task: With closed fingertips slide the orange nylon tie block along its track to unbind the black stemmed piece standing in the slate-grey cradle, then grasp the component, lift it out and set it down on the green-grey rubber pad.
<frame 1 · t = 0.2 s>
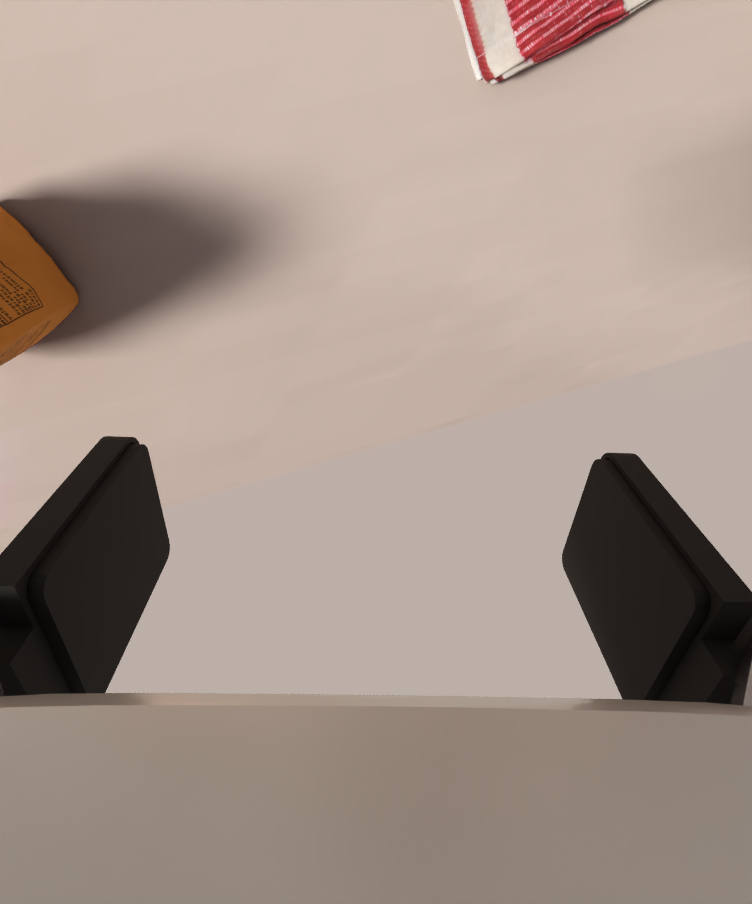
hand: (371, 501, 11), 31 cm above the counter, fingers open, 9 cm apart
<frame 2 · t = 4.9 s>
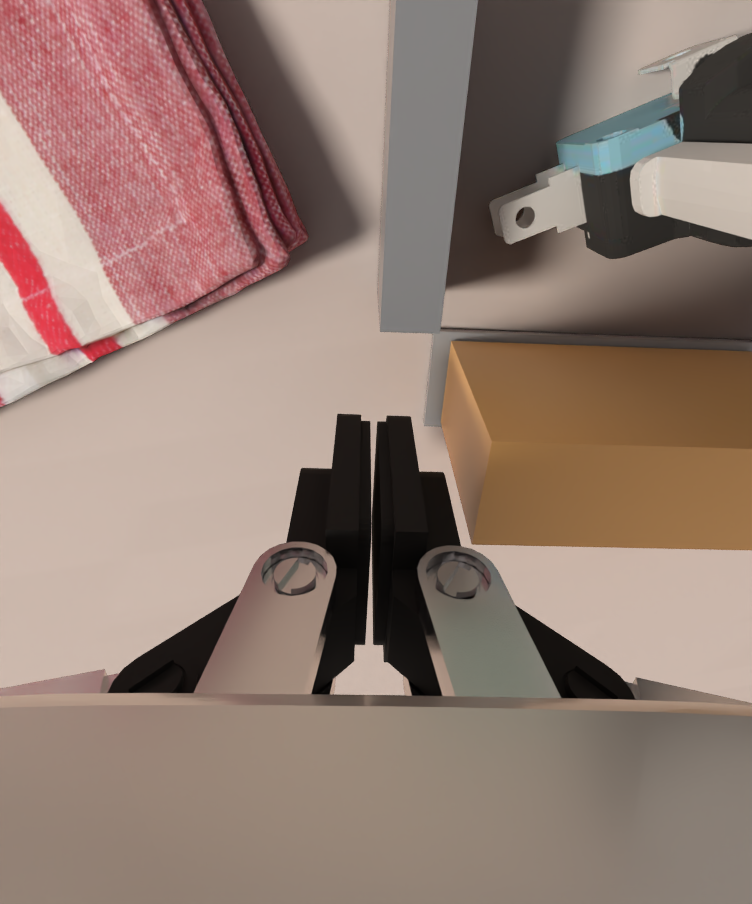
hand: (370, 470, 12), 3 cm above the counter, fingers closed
tie block: (631, 434, 12), point 3 cm above the counter, slide at 0.5 cm, touching gripper
black stemmed piece: (629, 152, 11), on the counter
cradle: (634, 153, 11), on the counter
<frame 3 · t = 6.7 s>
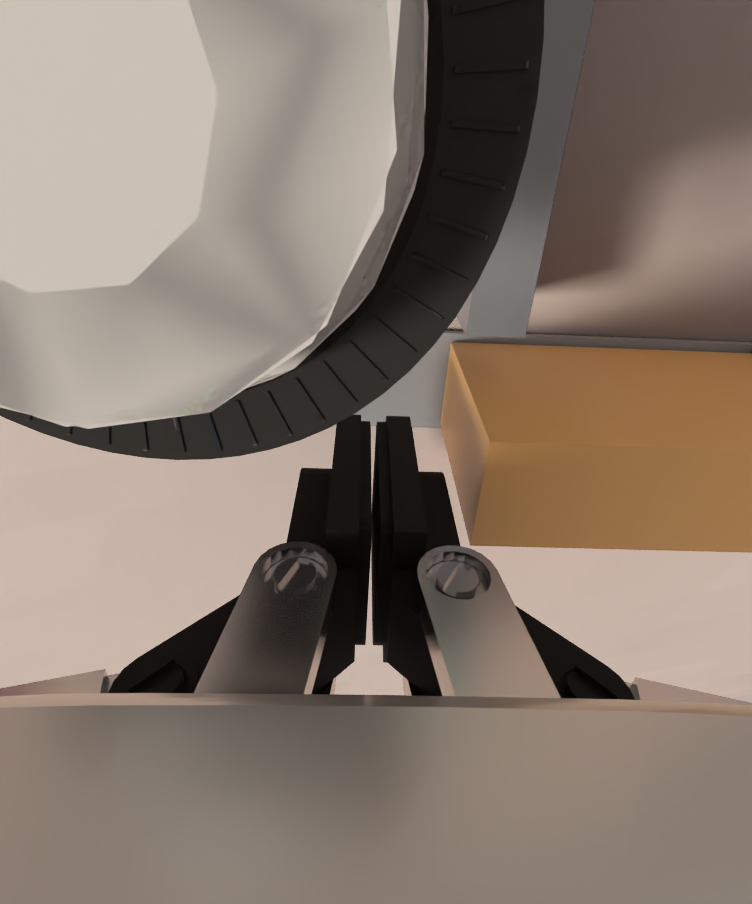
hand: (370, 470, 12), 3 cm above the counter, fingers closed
tie block: (631, 436, 12), point 3 cm above the counter, slide at 8.5 cm, touching cradle, gripper
black stemmed piece: (266, 136, 11), on the counter
cradle: (264, 136, 11), on the counter
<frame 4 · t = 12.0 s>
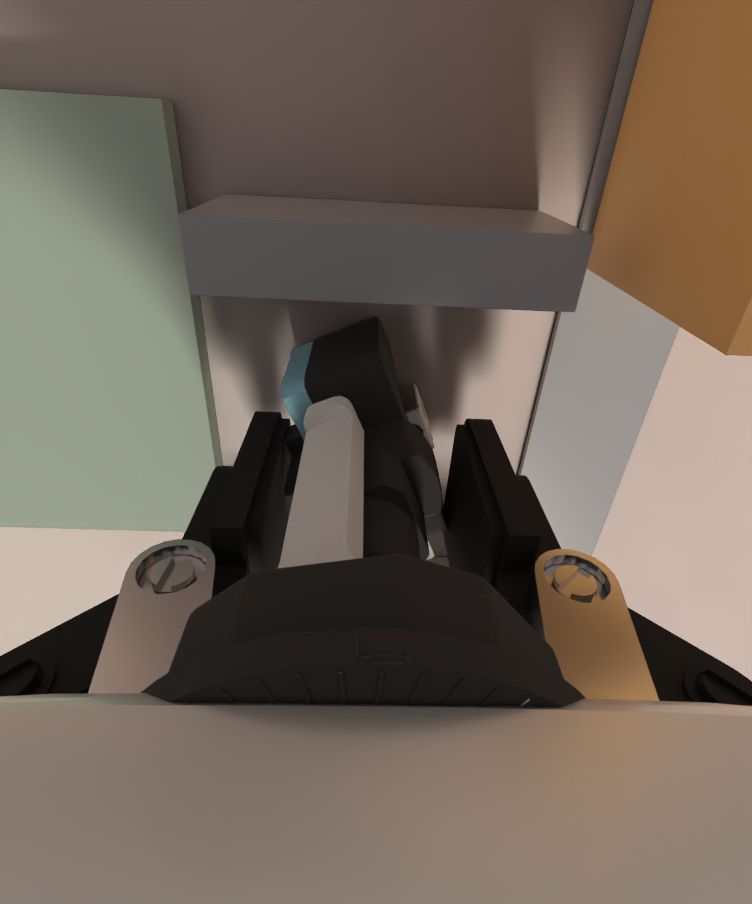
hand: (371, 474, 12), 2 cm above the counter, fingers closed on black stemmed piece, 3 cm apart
black stemmed piece: (373, 431, 13), on the counter, touching gripper
cradle: (372, 435, 13), on the counter
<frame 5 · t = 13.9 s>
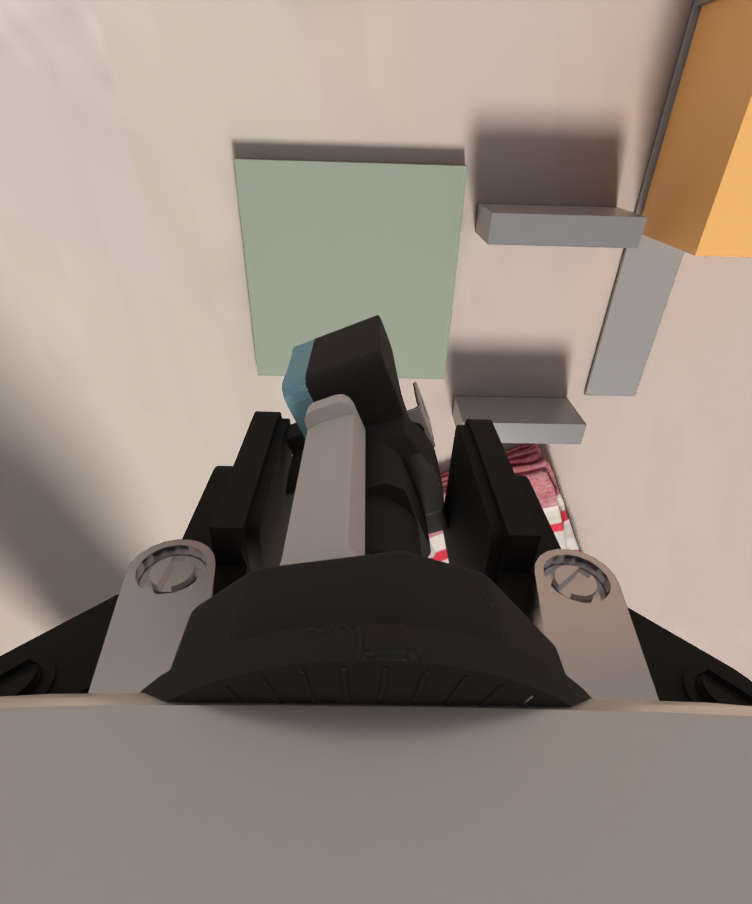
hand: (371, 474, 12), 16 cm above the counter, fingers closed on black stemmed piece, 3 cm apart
tie block: (729, 132, 19), point 3 cm above the counter, slide at 8.5 cm, touching cradle
black stemmed piece: (374, 429, 13), point 14 cm above the counter, touching gripper
dish towel: (470, 588, 38), on the counter
pad: (351, 278, 25), on the counter
cradle: (525, 322, 26), on the counter
when the fingers open (4 cm above the counter, at t = 16.2 s): black stemmed piece drops 1 cm, resting on pad.
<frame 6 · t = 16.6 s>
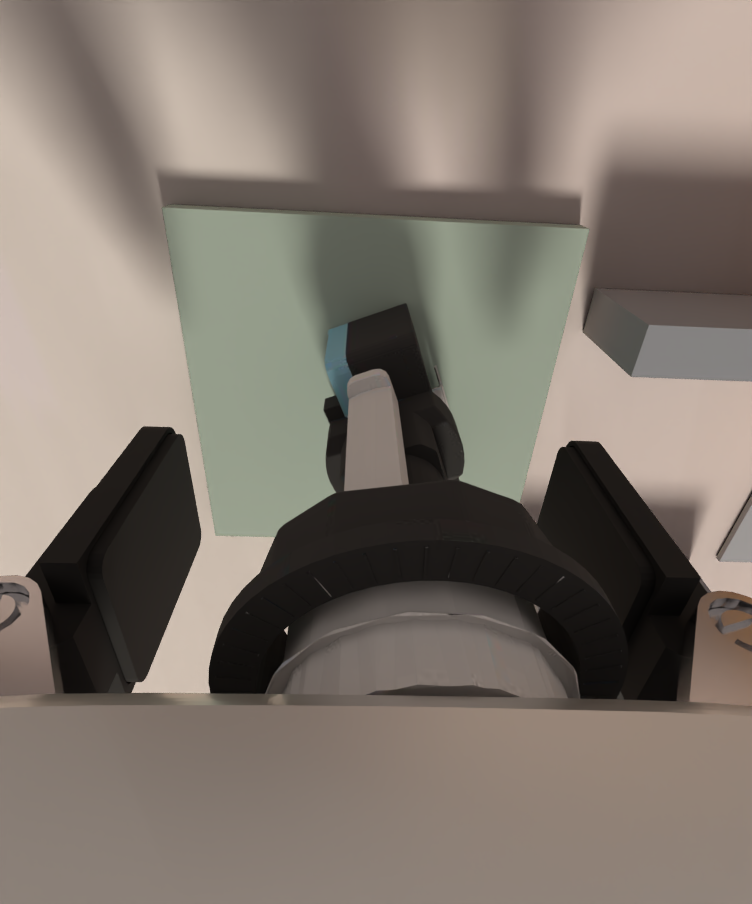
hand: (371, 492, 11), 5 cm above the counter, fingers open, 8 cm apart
black stemmed piece: (394, 409, 15), resting on pad
pad: (370, 399, 15), on the counter
cradle: (644, 464, 16), on the counter
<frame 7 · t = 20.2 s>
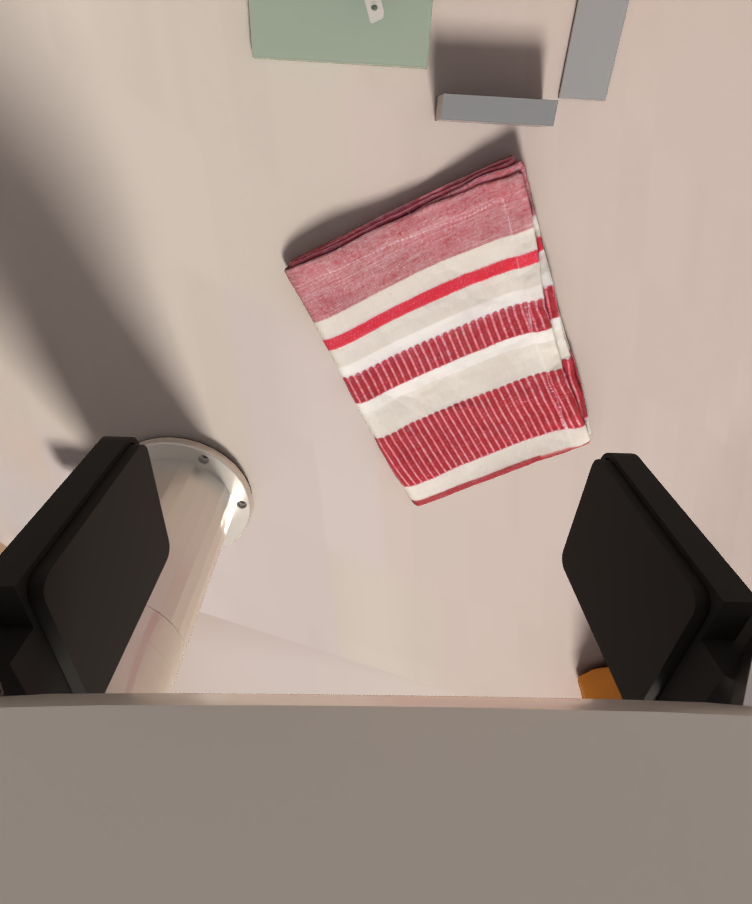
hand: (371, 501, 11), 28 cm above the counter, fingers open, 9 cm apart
dish towel: (451, 355, 40), on the counter
cradle: (503, 5, 28), on the counter
coffee package: (615, 683, 63), on the counter
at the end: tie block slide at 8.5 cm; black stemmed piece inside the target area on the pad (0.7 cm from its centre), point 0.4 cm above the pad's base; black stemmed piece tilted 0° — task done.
